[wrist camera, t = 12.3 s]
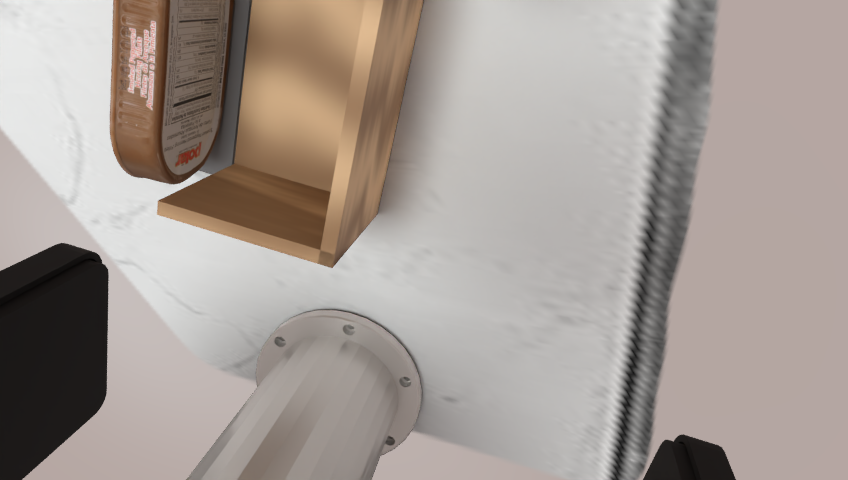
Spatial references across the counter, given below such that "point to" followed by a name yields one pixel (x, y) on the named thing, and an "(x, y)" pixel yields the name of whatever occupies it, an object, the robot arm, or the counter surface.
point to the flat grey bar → (231, 91)
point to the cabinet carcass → (309, 127)
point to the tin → (168, 84)
